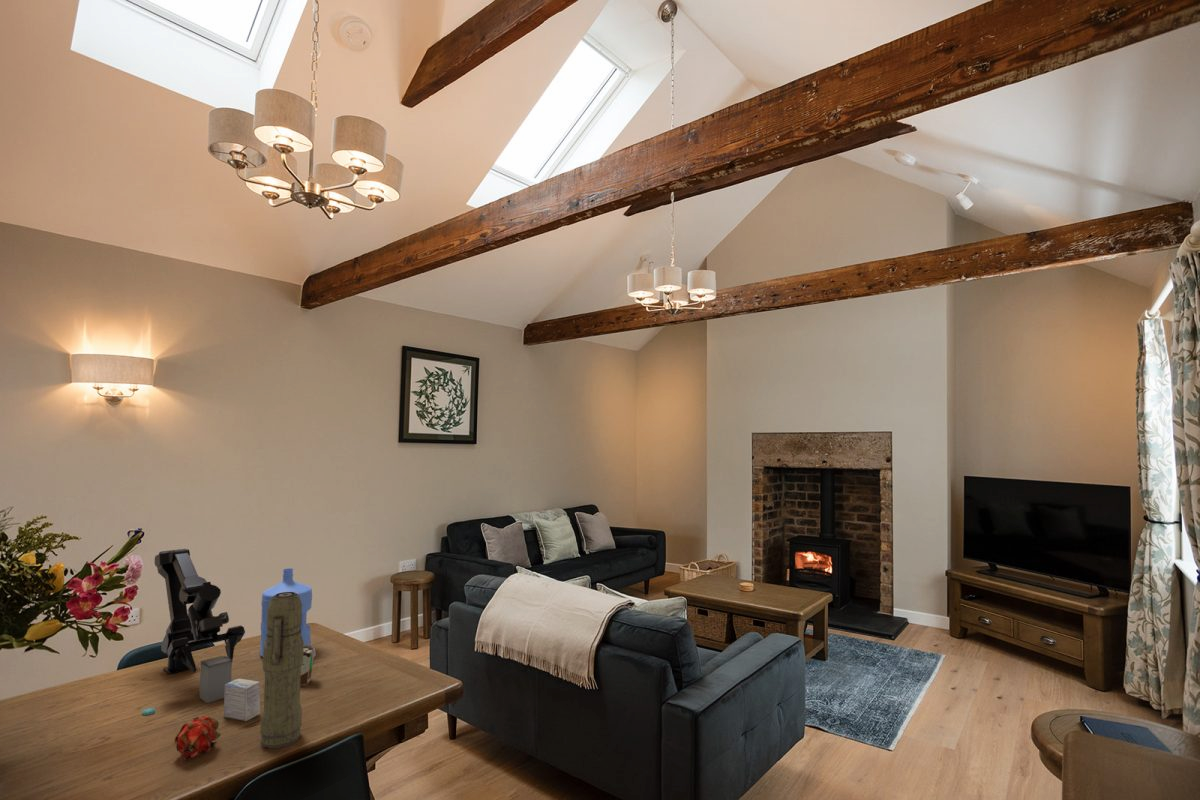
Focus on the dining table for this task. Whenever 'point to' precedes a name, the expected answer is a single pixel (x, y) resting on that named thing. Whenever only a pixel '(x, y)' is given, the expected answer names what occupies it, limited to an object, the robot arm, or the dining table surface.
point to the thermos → (282, 672)
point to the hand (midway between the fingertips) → (213, 667)
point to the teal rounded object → (148, 711)
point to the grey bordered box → (214, 678)
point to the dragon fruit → (197, 736)
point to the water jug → (287, 586)
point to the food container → (307, 663)
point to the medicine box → (242, 699)
